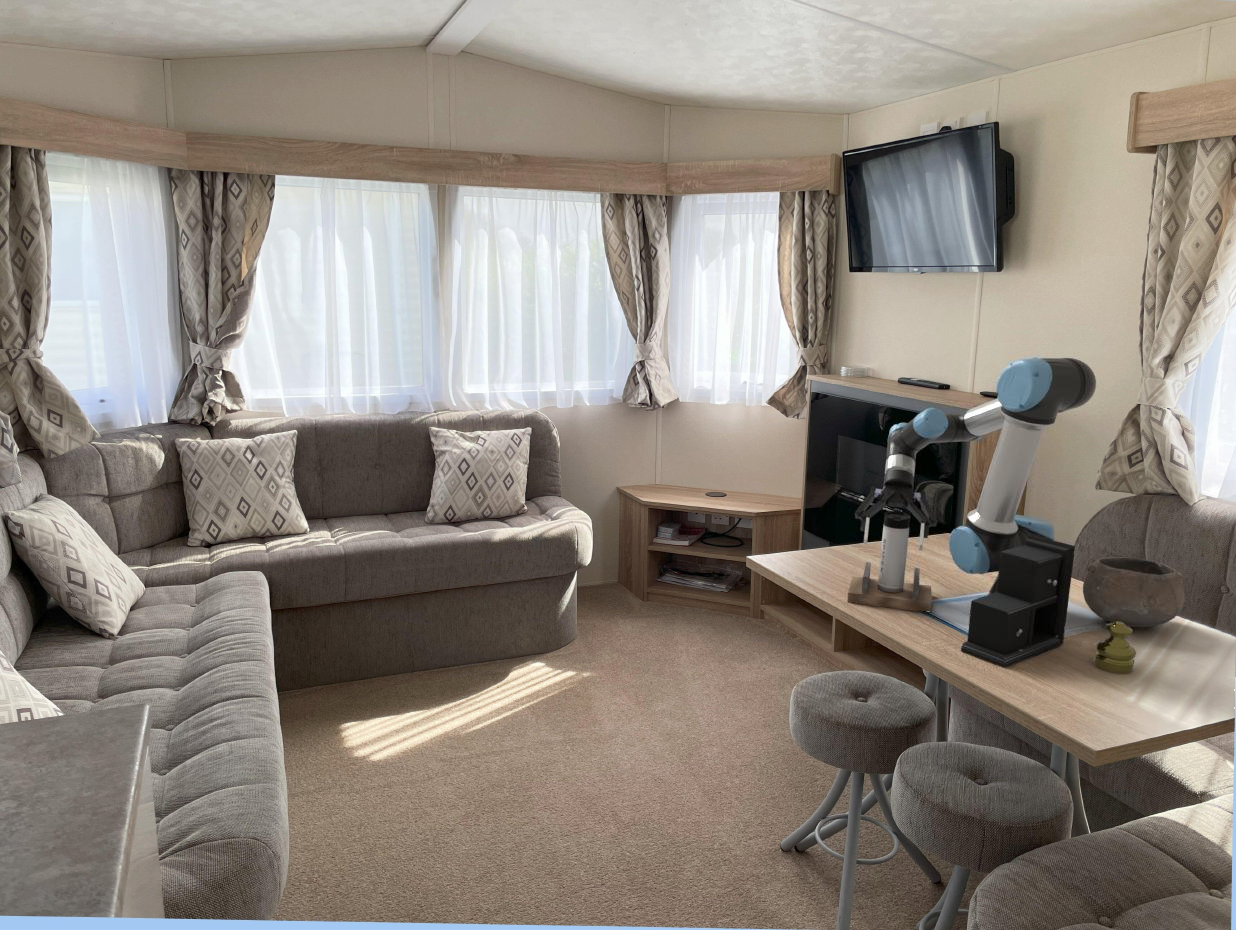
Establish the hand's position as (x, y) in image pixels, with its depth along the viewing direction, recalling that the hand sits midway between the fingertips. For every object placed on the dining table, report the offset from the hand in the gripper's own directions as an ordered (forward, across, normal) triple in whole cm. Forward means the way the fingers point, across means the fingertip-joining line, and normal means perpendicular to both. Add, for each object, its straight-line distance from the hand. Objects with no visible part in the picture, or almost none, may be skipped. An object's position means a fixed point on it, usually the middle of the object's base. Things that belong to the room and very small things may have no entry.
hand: (892, 544), depth 230 cm
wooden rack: (+11, 0, -9) cm, 14 cm away
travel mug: (+9, 0, -7) cm, 12 cm away
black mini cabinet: (+28, -27, +8) cm, 40 cm away
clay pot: (+8, -56, -11) cm, 57 cm away
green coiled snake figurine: (+30, -47, +11) cm, 57 cm away
